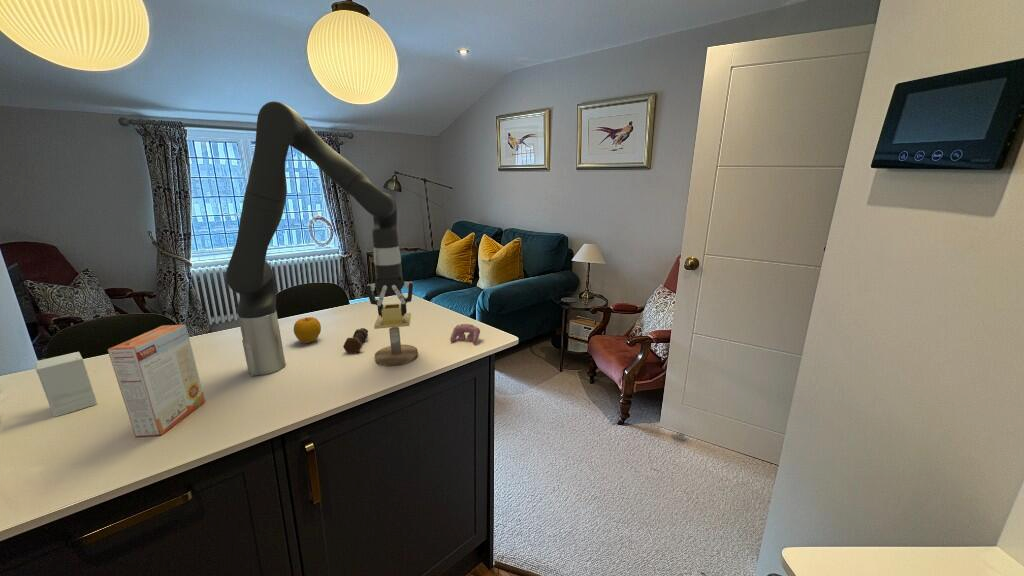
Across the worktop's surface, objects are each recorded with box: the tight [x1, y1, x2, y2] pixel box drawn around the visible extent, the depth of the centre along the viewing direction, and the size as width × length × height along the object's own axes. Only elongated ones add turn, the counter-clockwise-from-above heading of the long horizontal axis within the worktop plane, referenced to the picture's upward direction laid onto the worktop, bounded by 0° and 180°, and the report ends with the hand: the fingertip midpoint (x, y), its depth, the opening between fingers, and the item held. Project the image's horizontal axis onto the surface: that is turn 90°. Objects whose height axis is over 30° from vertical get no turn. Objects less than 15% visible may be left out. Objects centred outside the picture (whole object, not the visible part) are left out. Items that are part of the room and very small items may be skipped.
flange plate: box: [373, 302, 412, 330], centre depth 118 cm, size 10×10×5 cm
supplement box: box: [35, 351, 98, 418], centre depth 94 cm, size 7×7×13 cm
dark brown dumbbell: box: [342, 327, 369, 355], centre depth 131 cm, size 6×5×15 cm
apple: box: [293, 316, 322, 344], centre depth 133 cm, size 8×8×9 cm
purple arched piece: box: [449, 323, 481, 345], centre depth 133 cm, size 10×5×7 cm, turn 75°
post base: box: [374, 327, 419, 367], centre depth 120 cm, size 13×13×10 cm
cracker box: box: [107, 324, 206, 438], centre depth 87 cm, size 14×6×21 cm, turn 4°
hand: (393, 315), depth 118 cm, fingers closed on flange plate, 5 cm apart
